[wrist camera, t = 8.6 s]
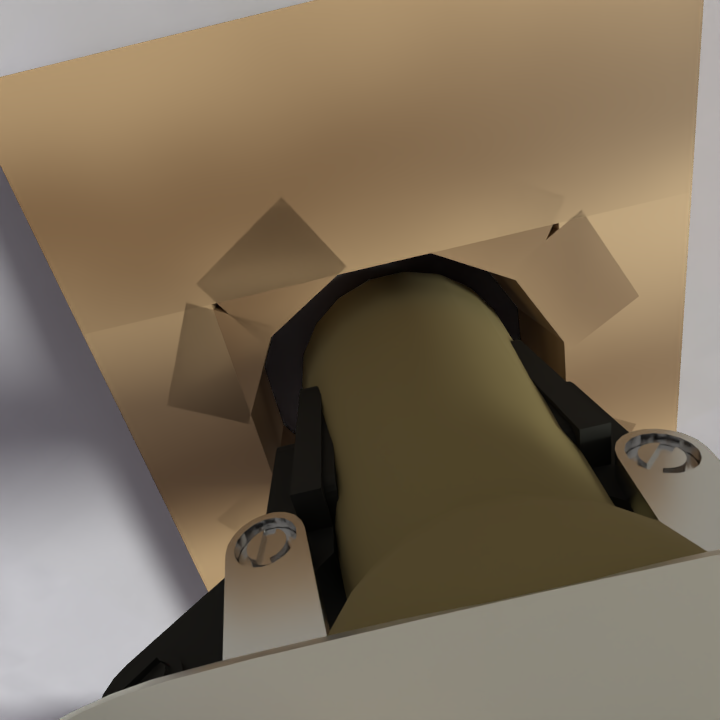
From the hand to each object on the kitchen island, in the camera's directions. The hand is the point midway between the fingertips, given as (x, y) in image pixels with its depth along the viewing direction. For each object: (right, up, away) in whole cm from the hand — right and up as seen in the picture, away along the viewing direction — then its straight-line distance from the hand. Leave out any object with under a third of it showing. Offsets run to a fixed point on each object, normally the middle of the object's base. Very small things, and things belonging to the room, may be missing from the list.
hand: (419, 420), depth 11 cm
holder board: (0, +1, +3) cm, 4 cm away
